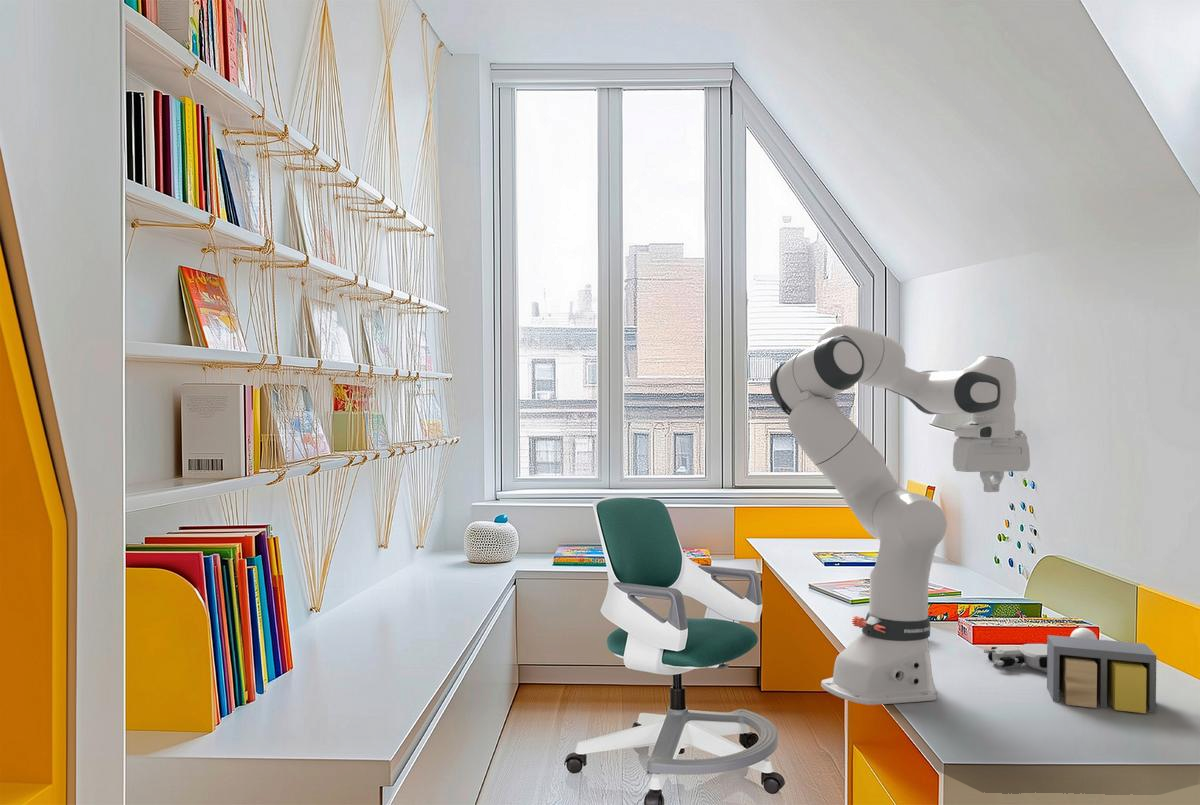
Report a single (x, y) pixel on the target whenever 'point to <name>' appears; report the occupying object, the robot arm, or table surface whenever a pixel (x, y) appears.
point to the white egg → (1083, 633)
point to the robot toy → (1019, 656)
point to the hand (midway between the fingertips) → (991, 492)
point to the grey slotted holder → (1100, 663)
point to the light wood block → (1078, 680)
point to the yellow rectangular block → (1126, 685)
